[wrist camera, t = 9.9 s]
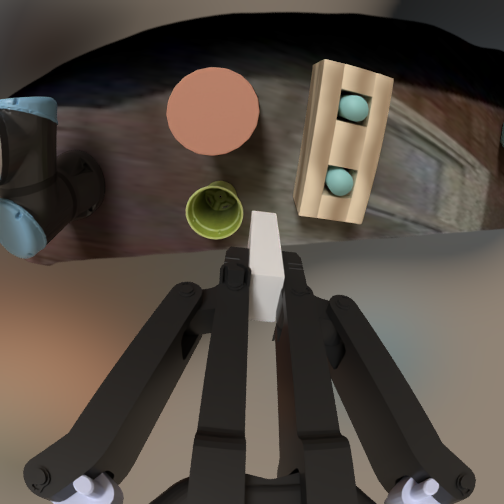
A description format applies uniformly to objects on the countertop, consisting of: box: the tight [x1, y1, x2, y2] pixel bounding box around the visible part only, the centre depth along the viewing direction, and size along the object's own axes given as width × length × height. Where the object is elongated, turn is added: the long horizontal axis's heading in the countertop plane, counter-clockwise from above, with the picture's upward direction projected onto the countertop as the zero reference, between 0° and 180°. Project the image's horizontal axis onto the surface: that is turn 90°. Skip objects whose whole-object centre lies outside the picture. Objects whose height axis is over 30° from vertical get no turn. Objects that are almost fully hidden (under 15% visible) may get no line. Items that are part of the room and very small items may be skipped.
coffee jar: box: [167, 67, 260, 156], centre depth 36 cm, size 11×11×18 cm
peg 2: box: [337, 95, 369, 122], centre depth 38 cm, size 4×4×8 cm
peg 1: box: [325, 165, 353, 196], centre depth 44 cm, size 4×4×8 cm
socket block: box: [293, 59, 394, 224], centre depth 42 cm, size 11×25×9 cm, turn 174°
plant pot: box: [186, 181, 243, 239], centre depth 49 cm, size 9×9×9 cm
